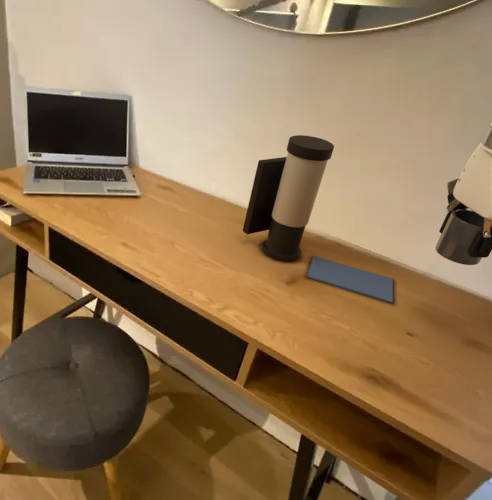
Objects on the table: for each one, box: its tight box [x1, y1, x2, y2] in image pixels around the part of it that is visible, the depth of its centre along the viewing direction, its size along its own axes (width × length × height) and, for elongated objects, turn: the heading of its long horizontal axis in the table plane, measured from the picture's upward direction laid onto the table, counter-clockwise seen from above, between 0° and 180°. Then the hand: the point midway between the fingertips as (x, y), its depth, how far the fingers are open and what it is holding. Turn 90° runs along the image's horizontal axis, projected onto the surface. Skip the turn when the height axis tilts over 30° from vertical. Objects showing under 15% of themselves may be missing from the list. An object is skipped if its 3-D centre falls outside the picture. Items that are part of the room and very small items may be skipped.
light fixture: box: [242, 134, 335, 263], centre depth 98 cm, size 12×11×25 cm
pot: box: [434, 209, 484, 266], centre depth 80 cm, size 7×7×7 cm
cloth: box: [307, 255, 394, 304], centre depth 96 cm, size 16×9×1 cm, turn 65°
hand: (462, 243), depth 80 cm, fingers closed on pot, 6 cm apart
